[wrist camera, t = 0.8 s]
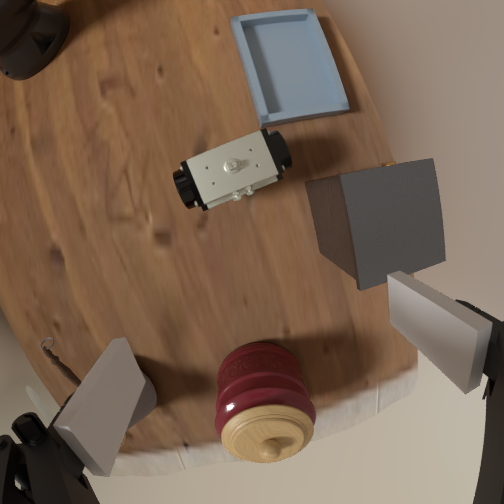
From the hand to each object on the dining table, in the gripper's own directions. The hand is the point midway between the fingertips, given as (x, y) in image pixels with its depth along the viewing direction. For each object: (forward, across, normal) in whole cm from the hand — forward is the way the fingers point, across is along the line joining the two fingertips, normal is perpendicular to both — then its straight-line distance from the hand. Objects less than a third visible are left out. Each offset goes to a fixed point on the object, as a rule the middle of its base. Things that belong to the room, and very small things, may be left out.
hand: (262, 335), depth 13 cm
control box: (+27, +15, +1) cm, 31 cm away
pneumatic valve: (+27, +1, +9) cm, 28 cm away
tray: (+27, +12, +23) cm, 37 cm away
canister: (+27, -3, -22) cm, 35 cm away
